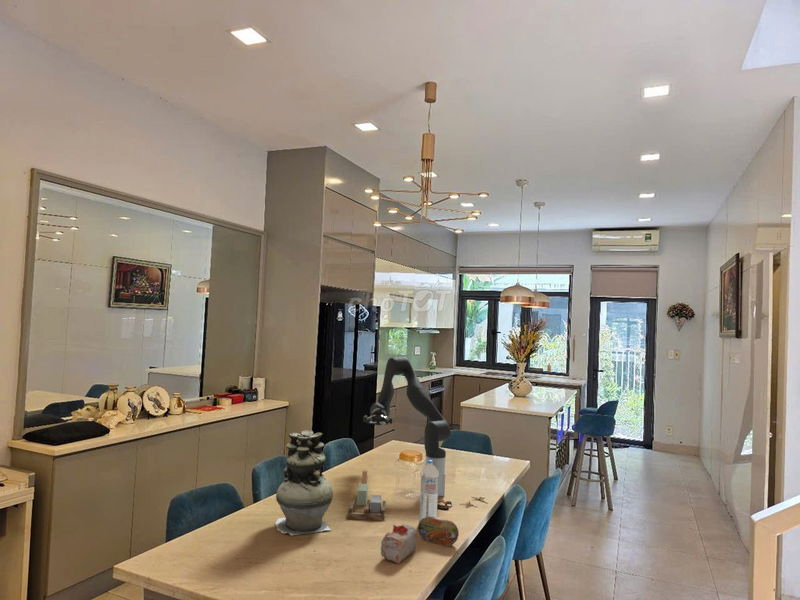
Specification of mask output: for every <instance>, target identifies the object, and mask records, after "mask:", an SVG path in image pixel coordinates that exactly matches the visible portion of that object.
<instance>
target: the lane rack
mask: <svg viewBox="0 0 800 600" xmlns="http://www.w3.org/2000/svg"><path fill="white" fill-rule="evenodd" d="M355 504H356V499H352V498H351V502H350V505H349V511H348V519H349V518H352V519H353V520H368V519H376V520H375V521H385V515H386V500H382V502H381V513H380V514H374V513H370V508H371V499H369V500H368V499H367V503H366V505H365V512H354V511H355V506H356V505H355Z"/></svg>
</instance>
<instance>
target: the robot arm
mask: <svg viewBox="0 0 800 600" xmlns="http://www.w3.org/2000/svg"><path fill="white" fill-rule="evenodd" d="M399 375H400V376H401V375H403V376H404V378H405V379H406V382H407V383H406V384H407V386H406V397H407V399H408V400H409V402H410V403H411V405H412V407H413V408H414V409H415V410H416V411H418V412H419V413H420V414H422V415H423V416H424V417H426V418H427V419H428V420H429V421H428V422H427V423H426V424H425V427H424V451H425V463H424V467H425V466H426V465H427V464H428V460H432V461H433V463H432V464H433V465H434V466H435V467H436V468H437V470H438V472H439V476H438V498H440V497H445V493H446V460H447V459H446V456H447V455H446V454H447V452H446V450H445V449H444V448H441V447H440V444H439V442H443V441H447V440H449V439H450V438H451V434H452V432H451V431H452V430H451V427H450V425H449V423H448V422H447V420H446V419H445V417H443V415H442V414H441V413H440V411H439V410H438V408H437V406H436V405H435V404H434V403H433V401H432V399H431V397H430V396H429V394H428V393H427V391H426V388H424V386H423V385H422V383H421V381H420V380H419V378H418V376H417V374H416V372H415V370H414V368H413V365H412V364H411V362H410V360H409V359H408V358H407V357H406V356H392V357H390V358H389V359H388V360H387V362H386V365H385V371H384V376H383V382H382V385H381V388H380V392H379V394H378V398H377V402H375V403H372V405H371V406H370V411H369V413H370V416H368V415H367V414H365V415H364V416H363V417H362V418H363V419H362V421H363V423H366V424H368V425H370V424H373V425H374V426H382V425H389V424H390V425H392V424H393V417H392V416H390V413H391V412H390V411H391V404H392V403H391V402H392V400H393V398H394V393H395V387H394V384H393V378H394V377H395V376H399Z"/></svg>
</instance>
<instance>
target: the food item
mask: <svg viewBox="0 0 800 600" xmlns="http://www.w3.org/2000/svg"><path fill="white" fill-rule="evenodd" d="M392 527H393V528H392V531H391V532H390V531H388V532H386V533H385V535H384V537H383V538H382V540H381V542H380V544H381V546H380V555H381V557H382V558H384V559H386V560H387V561H389V562H392V563H395V564H398V565H399V564H401V563H402V562H403V560H404V559H406V558H407V557H408V556H410V555H411V554H412V553H413V552H414V551H416V549H417V529H416V528H415V527H414V526H412V525H409V524H401V525H398V526H397V525H396V524H393V526H392Z"/></svg>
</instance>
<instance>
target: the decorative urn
mask: <svg viewBox="0 0 800 600" xmlns="http://www.w3.org/2000/svg"><path fill="white" fill-rule="evenodd" d="M322 436H323V433H322V432H316V433H314V431H313V430H312V429H311V430H310V429H308V430H307V429H306V430H302V431H301V432H300V433H297V432H289V433H288V437H289V438H290V439H291V440H290V442H288V443H287V444H286V446H285V447H286V448H287V449H288V452H287V457H286V460H285V461H286V462H285V463H286V467H285V468H284V469H283V477H284V479H283V482H282V483H281V484H280V485H279V487H278V489H277V490H276V495H275V499H276V502H277V504H278V505H279V506H280V509H281V510H280V511H282V513H283V515H284V517H280V518H277V519H276V520H275V522H274V523H275V526H276V529H277V531H278V532H280V533H281V534H289V535H290V536H299V535H300V536H301V535H307V534H313V533H320V532H323V531H331V528H330V527H329V526H328V524H327V523H326V522H325V521H324V520H323V517H324V516H325V514H326V513H327V511H328V509H329V508H330V505H331V503H332V502H333V496H334V491H333V487H332V484H331V483H330V481H329V480H328V479H327V478H326V477H325V474H324V473H323V470H322V467H324V465H325V463H326V460H327V458H326V456H325V454H324V452H323V448H324V447H325V443H323V442H321V441H320V439H321V437H322Z"/></svg>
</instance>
